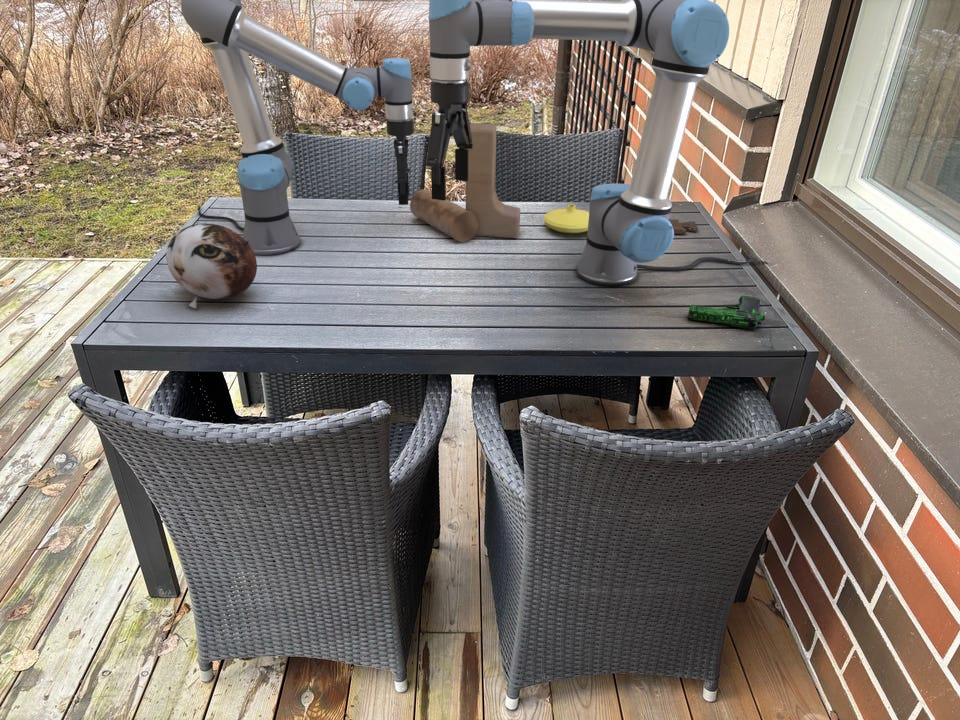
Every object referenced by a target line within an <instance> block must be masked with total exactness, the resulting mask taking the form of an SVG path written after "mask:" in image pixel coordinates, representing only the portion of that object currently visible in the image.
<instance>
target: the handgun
mask: <svg viewBox="0 0 960 720" xmlns="http://www.w3.org/2000/svg"><path fill="white" fill-rule="evenodd" d="M738 303H739V305H737V306H730V305H725V306H724V307H723V308H715V307H708V306H700V305H695V304H691V305H690V306H689V307H688V312H687V313H688V314H687V319H688V320H692V321H693V320H694V321H698V322H699V321H700V322H707V323H714V324H720V325H727V326H731V327H736V328H741V329H745V330H749V331H754V330H756V328H757V327H758V325H759V326H762V323H763V321H765V319H766V316H765V314H763V313H761V312H758V311H759V309H760V307H761V306H760V305H761V299H760V298H759V297H756V296H749V295H740V297H739V298H738Z"/></svg>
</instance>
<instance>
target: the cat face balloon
mask: <svg viewBox="0 0 960 720" xmlns="http://www.w3.org/2000/svg"><path fill="white" fill-rule="evenodd" d="M248 242H249V241H246V240H245V239H244V238H243V236H242V235H240V234H239V233H238V232H236V231H234V230H233V229H231V228H229V227H226V226H223V225H220V224H215V223H205V222H204V223H195V224H191V225H188V226H186V227H183V228H182V229H180V230H179V231H177V232H176V233H175V234H174V235H173V237H171V239H170V241H169V243H168V245H167V248H166V254H165V260H166V265H167V268H168V271H169V273H170V275H171V276H172V277H173V279H174V280H175V281H176V282H177V284H178V285H180V286H181V287H182V288H183V289H185V290H186V291H187V292H189V293H191V294H194V295H195V298H194V299H193V300H192V302H190V303H189V304H188V306H189V307H191V308H192V309H197V308H198V307H197V298H198V297H201V298H205V299H210V300H226V299H230V298H233V297H236V296H238V295H241V294H242V293H244V292H245V291H247V290H248V289H249V288H250V286H251V285H252V284H253V282H254V280H255V278H256V275H257V271H258V262H257V257H256V254H254V252H253V250H252V248H251V247H250V245H249V244H248Z"/></svg>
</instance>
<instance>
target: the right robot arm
mask: <svg viewBox="0 0 960 720" xmlns="http://www.w3.org/2000/svg"><path fill="white" fill-rule="evenodd" d="M428 2H429V3H428V17H427V19H428V30H429V31H428V34H429V35H428V36H429V77H430V79H431V82H430V83H429V85H430V87H429V88H430V101H431V102H432V103H434V104H436V105H438V112H435V111H432V113H431V124H430V125H431V126H430V133H429V138H428V140H429V141H428V147H427V154H426V161H425V166H426V167H428V168H429V167H430V177H431V178H430V179H431V180H430V182H431V183H430V184H431V192H432V199H436V200H444V201H445V200H446V199H447V188H446V187H447V182H446V181H447V180H446V177H447V176H446V174H447V171H446V169H447V168H446V166H444V165H445V162H446V156H447V152H448V148H449V143H450V139H451V137H453V140H454V142H455V146H456V148H455V149H454V180H455V181H460V182H466V181H468V150H467V149H472V148H473V144H471V143H472V135H471V129H470V124H471V123H470V118H469V111H468V110H469V109H468V103H469V102H470V82H469V81H468V80H469V78H470V69H471V68H472V66H473V64H472V63H471V62H470V56H471V47H481V46H482V47H483V46H484V47H485V46H486V47H489V46H491V47H493V46H494V47H495V46H499V47H500V46H502V47H516V46H524V45H528V44H529V43H530V42H531V40H533V39H535V40H566V41H567V40H568V41H594V42H595V41H599V42H600V41H601V42H616V43H617V44H618V45H619V46H620V47H629V48H637V49H641V50H644V51H647V52H651V53H653V56H652V59H651V63H650V68H651V69H652V71H653V73H654V74H655V78H654V82H653V87H652V92H651V95H650V100H649V104H648V109H647V113H646V116H645V121H644V126H643V130H642V134H641V138H640V142H639V146H638V150H637V155H636V158H635V163H634V168H633V172H632V176H631V180H630V183H617V182H616V183H603V184H598V185H596V186H595V187H593V189H592V190H591V193H590V199H589V210H588V212H589V221H588V231H587V234H586V243H585V247H584V248H583V250H582V253H581V255H580V258H579V260H578V262H577V265H576V274H577V276H578V277H579V278H580V279H581V280H583V281H585V282H588V283H590V284H594V285H598V286H606V287H618V286H624V285H628V284H631V283H633V282H634V281H635V280H636V279H637V277H638V269H642V270H650V271H662V272H663V271H664V272H665V271H666V272H673V271H674V272H675V271H684V270H689V269H692V268H694V267H695V266H696V265H697V264H699V263H700V262H707V261H709V262H710V261H712V262H719V263H725V264H731V265H746V264H750V263H754V262H758V261H757V258H756V257H752V258H750V259H744V260H745V261H746V262H735V261H732V260H733V259H728V258H722V257H715V256H703V257H700V258H696V259H695V260H694V261H693V262H692V263H690V264H687V265H682V266H655V265H654V266H653V265H645V264H646V263H650V262H654V261H656V260H657V259H658V258H660V257H661V256H663V255H665V253H667V251H668V250H669V249H670V247H671V246H672V244H673V240H674V237H675V233H674V229H673V227H672V224H671V222H670V221H668V220H669V219H670V216H671V211H672V208H673V203H672V201H671V199H670V197H669V193H670V189H671V184H672V181H673V178H674V173H675V170H676V165H677V162H678V158H679V154H680V151H681V147H682V142H683V140H684V136H685V132H686V128H687V124H688V120H689V116H690V113H691V109H692V105H693V102H694V98H695V94H696V90H697V87H698V84H699V83H700V82H701V81H702V80H704V79H705V78H707V76H708V74H709V70H710V67H711V64H714V63H715V62H716V61H717V59H718V58H719V57H721V56H722V54H723V53H724V51H726V48H727V46H728V42H729V39H730V24H729V19H728V15H726V13H725V11H724V9H723V8H722V7H721V6H720V5H719V4H718V3H715V2H714V1H711V0H621V1H613V0H612V1H611V0H610V1H609V0H429V1H428ZM728 260H731V261H728ZM637 263H640V264H637ZM644 263H645V264H644Z"/></svg>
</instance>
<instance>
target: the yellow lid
mask: <svg viewBox="0 0 960 720" xmlns="http://www.w3.org/2000/svg"><path fill="white" fill-rule="evenodd" d="M588 221H589V211H587V210H584V209H578V208H576V205H575V204H571V203H570V204H567V208H557V209H552V210H549V211H548V212H547V213H545V214H544V216H543V222H544V225H545V226H546V227H548V228H550V229H551V230H554V231H556V232H559V233H564V234H580V233H584V232H585V233H586V232H588Z"/></svg>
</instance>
